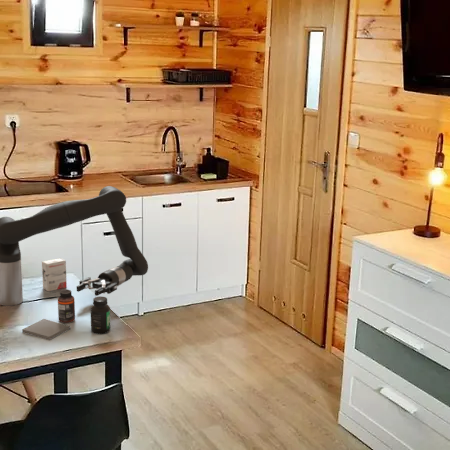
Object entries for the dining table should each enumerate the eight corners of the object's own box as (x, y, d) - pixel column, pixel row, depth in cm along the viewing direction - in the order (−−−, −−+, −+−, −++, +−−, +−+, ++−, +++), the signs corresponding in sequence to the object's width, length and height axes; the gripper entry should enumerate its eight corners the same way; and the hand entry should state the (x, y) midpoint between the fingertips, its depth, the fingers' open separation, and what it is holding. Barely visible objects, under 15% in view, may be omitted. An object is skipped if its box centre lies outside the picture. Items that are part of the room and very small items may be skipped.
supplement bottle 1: (68, 315, 262) (67, 287, 259) (78, 320, 258) (77, 291, 255) (55, 320, 257) (54, 291, 254) (65, 324, 254) (64, 295, 251)
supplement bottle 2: (113, 332, 249) (113, 300, 246) (95, 336, 245) (95, 303, 242) (105, 325, 255) (105, 294, 252) (87, 329, 251) (87, 297, 248)
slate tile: (22, 332, 246) (22, 329, 246) (43, 321, 256) (43, 318, 255) (49, 339, 241) (49, 336, 241) (70, 328, 251) (70, 325, 250)
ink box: (61, 284, 294) (60, 257, 291) (67, 287, 291) (66, 260, 288) (42, 288, 289) (41, 260, 286) (47, 291, 285) (46, 264, 282)
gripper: (97, 266, 282) (71, 278, 268) (126, 272, 276) (101, 285, 262) (97, 284, 284) (71, 297, 270) (127, 290, 278) (102, 304, 264)
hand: (86, 291), depth 266 cm, fingers open, 8 cm apart
